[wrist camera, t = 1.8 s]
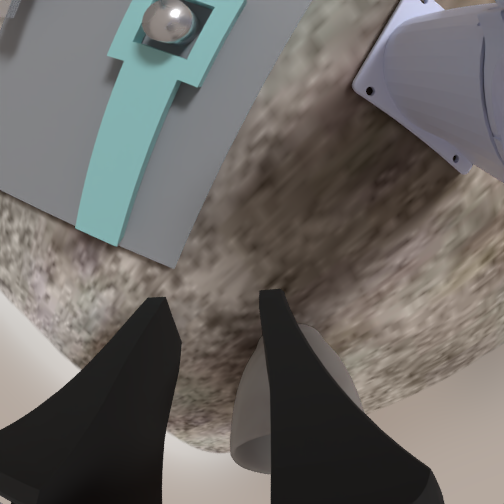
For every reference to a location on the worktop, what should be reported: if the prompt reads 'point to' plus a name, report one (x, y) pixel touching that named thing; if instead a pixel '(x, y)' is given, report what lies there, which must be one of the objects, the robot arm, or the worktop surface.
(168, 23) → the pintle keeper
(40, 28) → the board
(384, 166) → the worktop surface
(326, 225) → the worktop surface
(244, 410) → the mug
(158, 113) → the link
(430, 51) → the robot arm
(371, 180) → the worktop surface
